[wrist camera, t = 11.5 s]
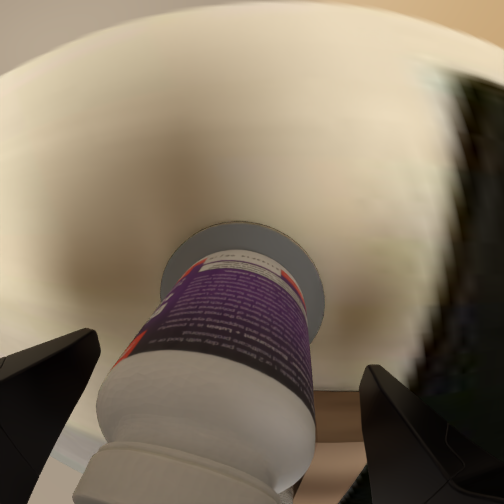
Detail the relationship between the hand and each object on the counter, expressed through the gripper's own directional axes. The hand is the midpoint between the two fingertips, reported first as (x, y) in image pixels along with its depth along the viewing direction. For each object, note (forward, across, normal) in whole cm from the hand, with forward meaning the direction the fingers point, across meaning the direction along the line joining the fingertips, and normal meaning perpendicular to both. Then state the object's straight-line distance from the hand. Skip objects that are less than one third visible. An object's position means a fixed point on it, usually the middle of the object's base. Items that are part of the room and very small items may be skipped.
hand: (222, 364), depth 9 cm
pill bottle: (+4, 0, 0) cm, 4 cm away
